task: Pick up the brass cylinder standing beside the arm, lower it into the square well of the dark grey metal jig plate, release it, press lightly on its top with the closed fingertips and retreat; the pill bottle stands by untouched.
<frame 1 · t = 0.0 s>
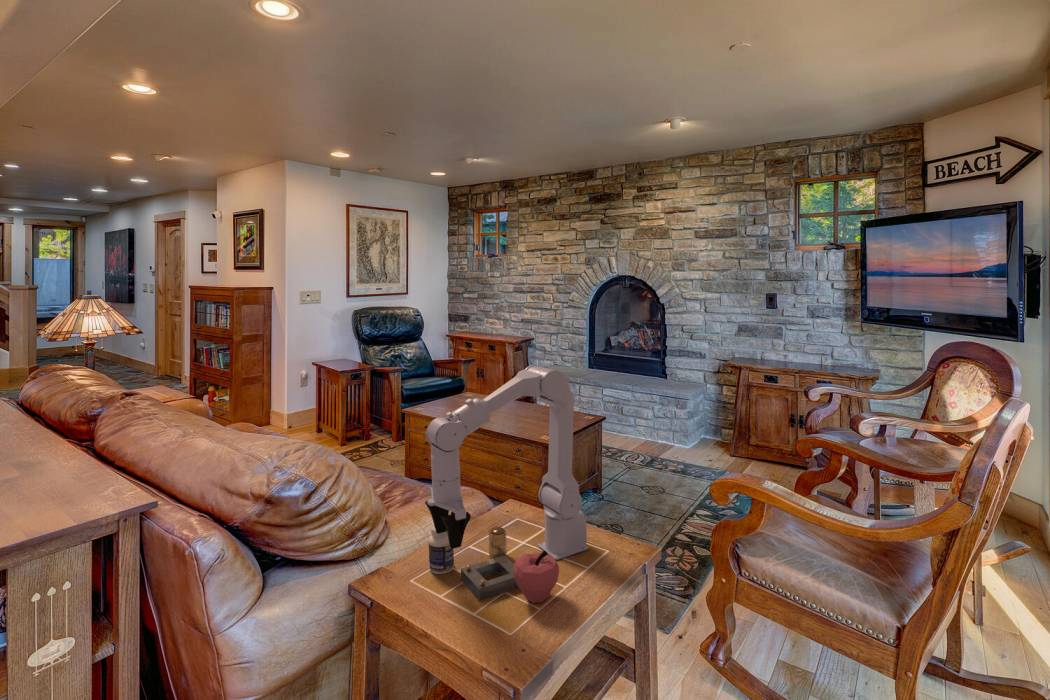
hand: (448, 539, 115), 10 cm above the table, fingers open, 7 cm apart
brass cylinder: (497, 556, 127), on the table
pill bottle: (442, 569, 123), on the table
apple: (536, 599, 111), on the table
jig: (492, 582, 117), on the table
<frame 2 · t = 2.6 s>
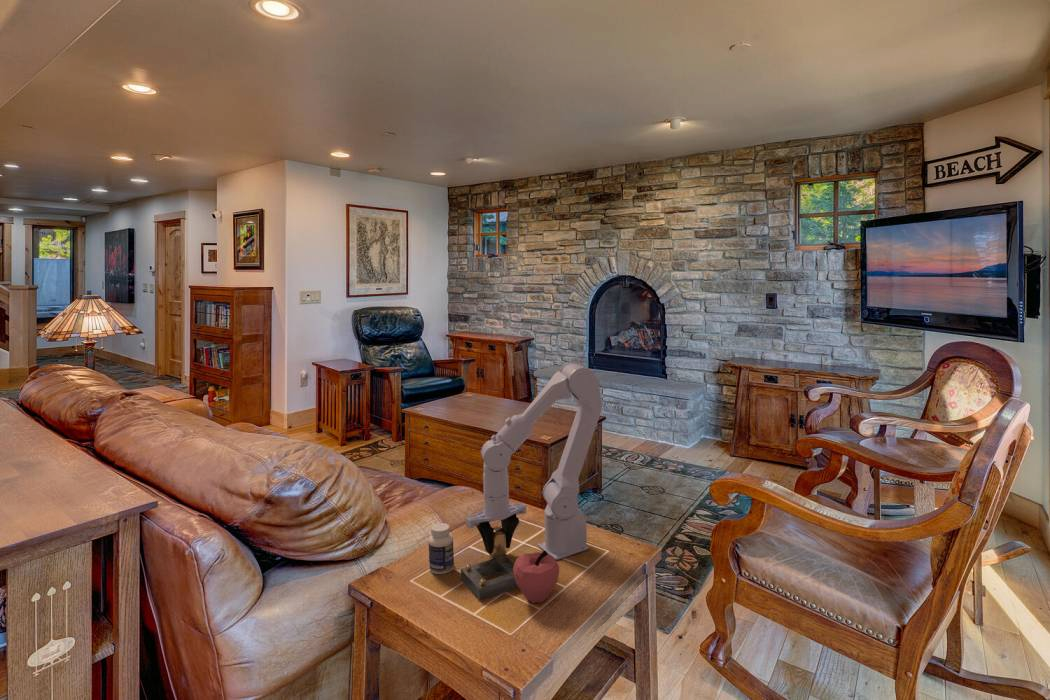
hand: (497, 549, 127), 2 cm above the table, fingers closed on brass cylinder, 4 cm apart
brass cylinder: (497, 556, 127), on the table, touching gripper
everything else where it was.
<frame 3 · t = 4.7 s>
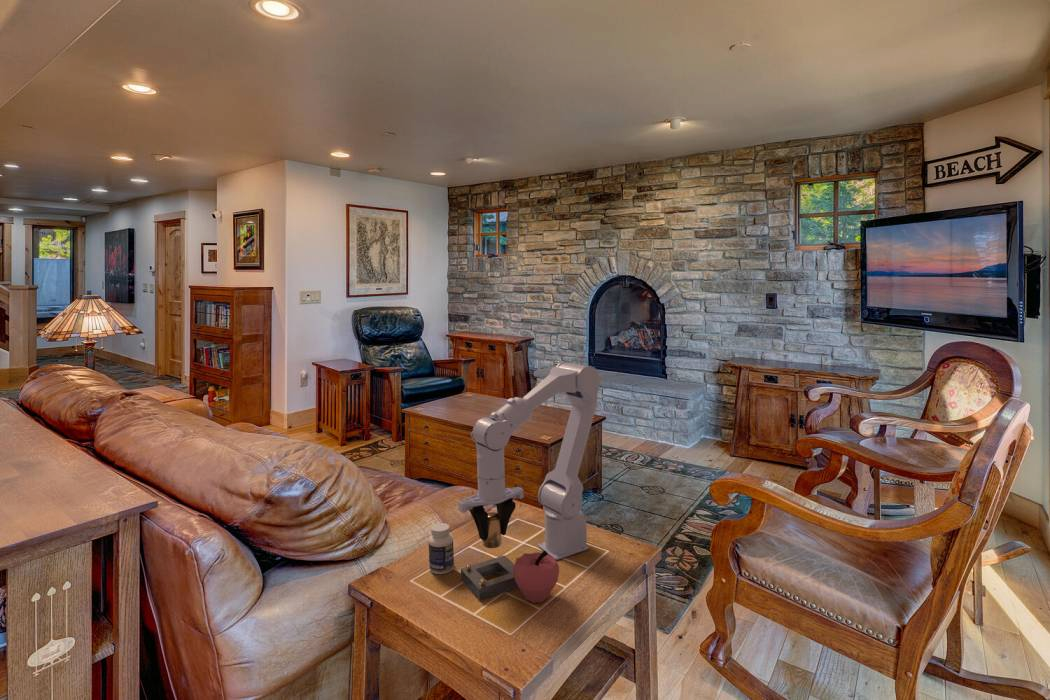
hand: (492, 536, 118), 9 cm above the table, fingers closed on brass cylinder, 4 cm apart
brass cylinder: (492, 543, 119), point 7 cm above the table, touching gripper
everything else where it was.
when the fingers open (3 cm above the table, at t = 7.1 s): brass cylinder drops 1 cm, resting in jig.
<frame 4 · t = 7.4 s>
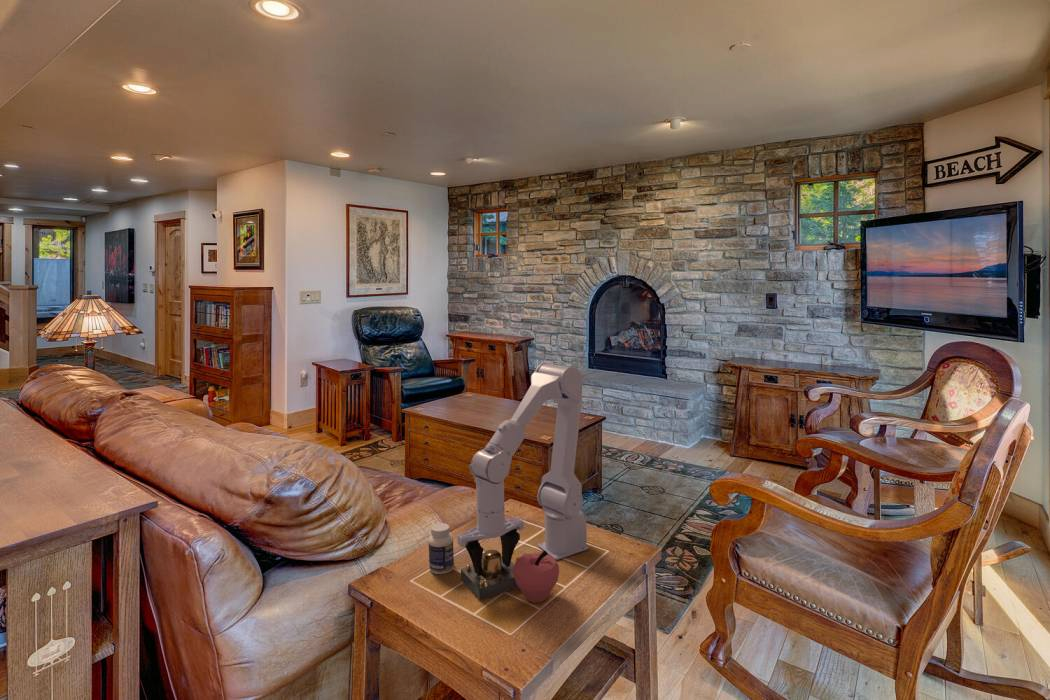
hand: (492, 569, 116), 3 cm above the table, fingers open, 6 cm apart
brass cylinder: (492, 581, 117), resting in jig
everything else where it was.
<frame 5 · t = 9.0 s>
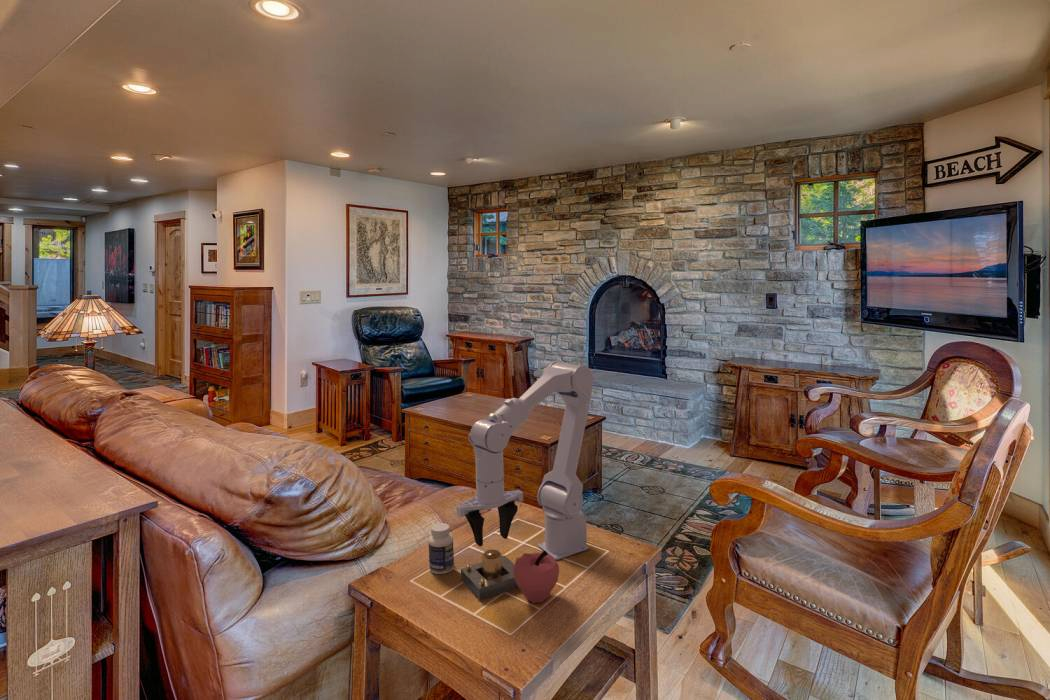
hand: (491, 540, 115), 9 cm above the table, fingers open, 5 cm apart
nothing on the table moved.
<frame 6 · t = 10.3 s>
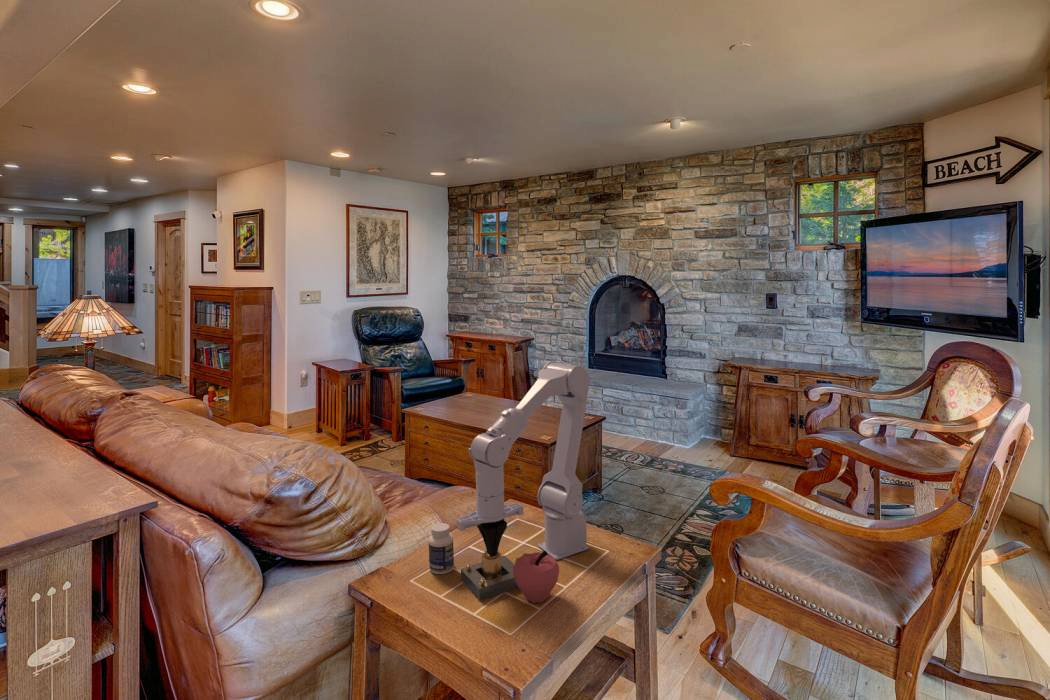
hand: (492, 553, 116), 6 cm above the table, fingers closed
nothing on the table moved.
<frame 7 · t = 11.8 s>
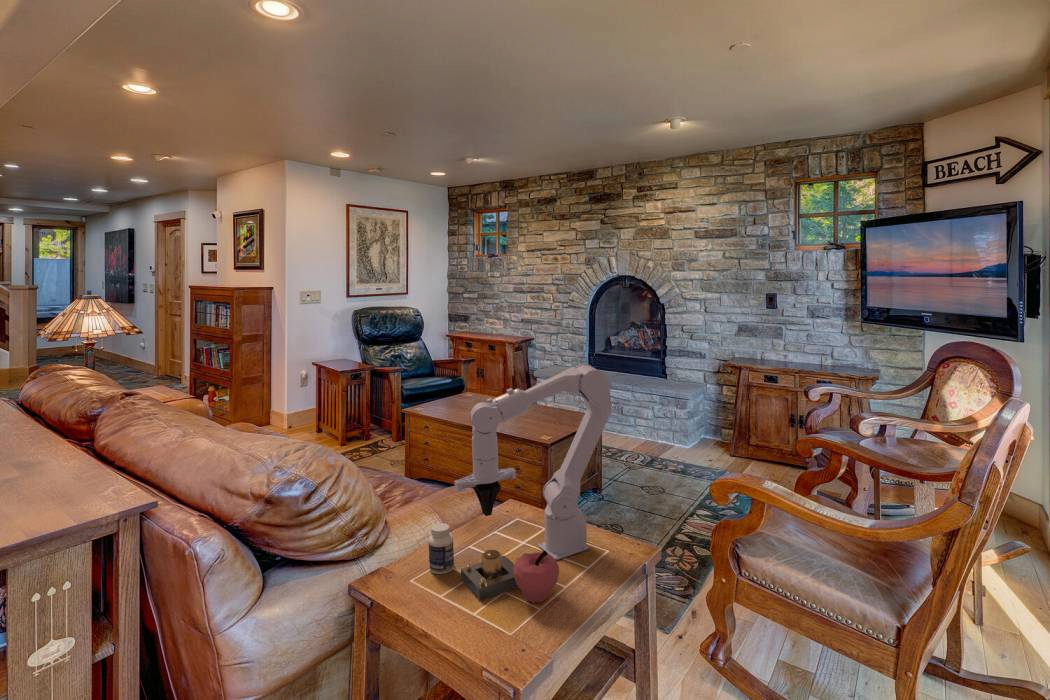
hand: (487, 513, 126), 10 cm above the table, fingers closed
nothing on the table moved.
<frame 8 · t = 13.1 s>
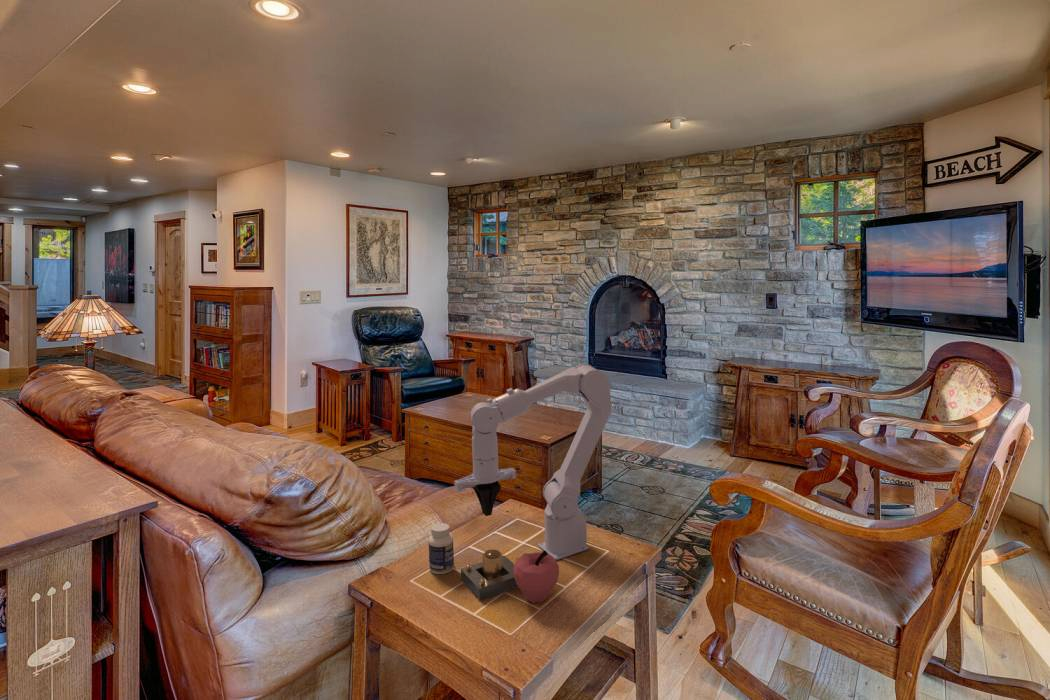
hand: (487, 513, 126), 10 cm above the table, fingers closed
nothing on the table moved.
at the end: brass cylinder 0.2 cm off-centre on the jig, point 0.0 cm above the jig's base; brass cylinder tilted 1°; the gripper is holding nothing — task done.
